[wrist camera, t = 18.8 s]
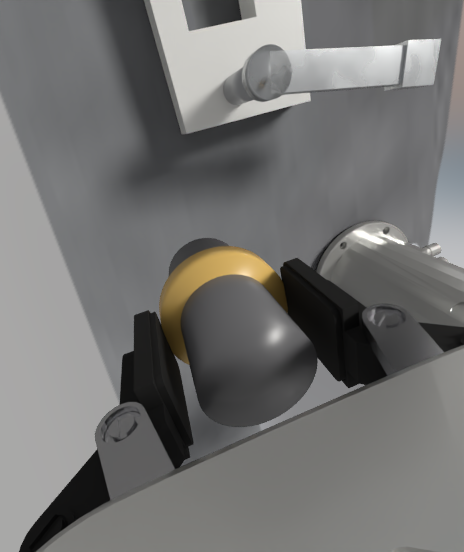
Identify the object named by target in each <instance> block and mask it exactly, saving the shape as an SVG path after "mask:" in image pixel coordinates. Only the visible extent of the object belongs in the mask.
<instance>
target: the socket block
mask: <svg viewBox="0 0 464 552" xmlns="http://www.w3.org/2000/svg"><path fill="white" fill-rule="evenodd" d="M238 1H239V6H240V12H241V18H242V20H239V21H235V22H230V23H225V24H221V25H216V26H212V27H207V28H202V29H198V30H193V31H189V30H188V26H187V22H186V18H185V14H184V9H183V5H182V1H181V0H144V3H145V7H146V10H147V14H148V17H149V21H150V24H151V28H152V31H153V35H154V38H155V42H156V46H157V49H158V53H159V56H160V60H161V63H162V67H163V70H164V74H165V77H166V81H167V84H168V88H169V91H170V95H171V99H172V102H173V106H174V109H175V113H176V116H177V120H178V123H179V127H180V130H181V134H189V133H192V132H196V131H200V130H203V129H207V128H211V127H215V126H218V125H222V124H226V123H229V122H233V121H237V120H241V119H244V118H248V117H252V116H255V115H259V114H263V113H267V112H270V111H274V110H278V109H281V108H285V107H289V106H293V105H296V104H300V103H304V102H307V101H311V100H310V93H299V94H286V95H281V96H280V97H278V98H276V99H273V100H270V101H266V102H259V101H256V100H254V99H252V98H251V97H250V96H249V95H248V94H247V92H246V91H245V89H244V86H243V82H242V70H243V66H244V63H245V61H246V60H247V58H248V57H249V56H250V55H251V54H252V53H253V52H255V51H256V50H257V49H259V48H260V47H262V46H264V45H268V44H273V45H277V46H279V47H281V48H282V49H283V50H305V49H306V48H305V37H304V27H303V17H302V6H301V0H238Z"/></svg>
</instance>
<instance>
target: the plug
mask: <svg viewBox="0 0 464 552" xmlns="http://www.w3.org/2000/svg"><path fill="white" fill-rule="evenodd" d="M159 312H160V318H161V325H162V329H163V332H164V334H165V336H166V338H167V341H168V343H169V345H170V348H171V350H172V352H173V354H174V355H175V356H176V357H177V358H179V359H180V360H182V361H183V362H185V363H187V364H189V365H190V369H191V373H192V377H193V381H194V385H195V389H196V393H197V398H198V401H199V404H200V407H201V408H202V410H203V411H204V413H205V414H206V415H207V416H208V417H209V418H210V419H212V420H214V421H215V422H217V423H220V424H222V425H226V426H232V427H247V426H253V425H258V424H261V423H264V422H267V421H269V420H272V419H274V418H276V417H278V416H280V415H281V414H283V413H284V412H286V411H287V410H289V409H290V408H291V407H292V406H294V405H295V404H296V403H297V402H298V401H299V400H300V399H301V398H302V397H303V396H304V394H305V393H306V392H307V390H308V388H309V387H310V385H311V383H312V382H313V379H314V377H315V374H316V369H317V354H316V350H315V348H314V345H313V344H312V342H311V341H310V339H309V338H308V337H307V336H306V335H305V334H304V332H303V331H302V330H301V329H300V328H299V327H298V325H297V324H296V323H295V322H294V321H293V319H292V318H291V317H290V316H289V315H288V314H287V312H288V307H287V301H286V295H285V289H284V283H283V282H282V280H281V278H280V277H279V276H278V274H277V273H276V272H275V271H274V270H273V269H272V268H271V267H270V266H269V265H268V264H267V263H266V262H265V261H264V260H263V259H261V258H260V257H259V256H258V255H256V254H254V253H253V252H251V251H248V250H246V249H243V248H239V247H233V246H229V245H228V244H226V243H224V242H223V241H220V240H217V239H212V238H202V239H197V240H194V241H191V242H189V243H187V244H186V245H184V246H183V247H182V248H181V249H180V250H178V252H177V253H176V254H175V256H174V257H173V259H172V261H171V264H170V267H169V277H168V279H167V281H166V282H165V285H164V287H163V289H162V292H161V296H160V302H159Z"/></svg>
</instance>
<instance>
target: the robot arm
mask: <svg viewBox="0 0 464 552" xmlns="http://www.w3.org/2000/svg"><path fill="white" fill-rule="evenodd" d="M439 253H441V247H440V246H439V245H438V244H437V243H433V244H431V245H428V246H425V247H423V248H419V247H417V246H414V245H412V244H409V243H408V240H407V238H406V237H405V235H404V233H403V232H402V231H401V230H400V229H398V228H397V227H395V226H393V225H391V224H389V223H385V222H382V221H367V222H362V223H359V224H356V225H354V226H352V227H350V228H349V229H347V230H345V231H344V232H343V233H341V234H340V235H339V236H338V237H336V239H335V240H334V241H333V242H332V243H331V244H330V245H329V246H328V248H327V249H326V251H325V252H324V254H323V255H322V258H321V260H320V262H319V264H318V267H317V270H316V271H314V270H313V269H312V268H310V267H309V266H308V265H306V264H305V263H303V262H302V261H301V260H299V259H298V258H295V259H293V260H290V261H287V262H284V264H283V267H281V268H280V271H281V277H282V282H283V283H284V289H285V295H286V301H287V307H288V315H289V316H290V317H291V318H292V319H293V321H294V322H295V323H296V324H297V325H298V327H299V328H300V329H301V330H302V331H303V332H304V334H305V335H306V336H307V337H308V338H309V339H310V341H311V342H312V344H313V345H314V348H315V350H316V354H317V357H318V359H319V360H320V361H321V362H322V363H323V365H324V366H325V367H326V368H327V369H328V371H329V372H330V373H331V374H332V375H333V377H334V378H335V379H336V380H337V381H341V380H342V381H343V382H344V384H345V385H346V386H347V387H348V388H350V387H353V386H355V385H357V384H364V385H365V386H363V387H361V388H359V389H356V390H354V391H352V392H349V393H347V394H345V395H343V396H340V397H338V398H336V399H333V400H331V401H329V402H326V403H324V404H322V405H320V406H317V407H315V408H313V409H311V410H308V411H306V412H304V413H301V414H299V415H297V416H295V417H293V418H290V419H288V420H285V421H283V422H281V423H278V424H276V425H274V426H272V427H269V428H267V429H265V430H263V431H260V432H258V433H256V434H254V435H251V436H249V437H247V438H245V439H242V440H240V441H238V442H236V443H233V444H231V445H229V446H227V447H224V448H222V449H220V450H218V451H215V452H213V453H211V454H209V455H206V456H204V457H202V458H200V459H197V460H195V461H193V462H191V463H188V464H186V465H184V466H182V467H180V466H181V464H182V463H183V461H184V460H185V459H188V458H190V454H189V448H188V446H190V445H193V438H192V432H191V427H190V422H189V417H188V411H187V406H186V401H185V396H184V390H183V385H182V380H181V375H180V370H179V366H178V363H177V361H176V359H175V356H174V354H173V352H172V350H171V348H170V345H169V343H168V341H167V338H166V336H165V334H164V332H163V329H162V326H161V324H160V321H159V319H158V317H157V314H156V312H153V313H150V311H149V310H148V311H145V312H142V313H139V314H137V315H134V351H132V352H130V353H127V354H124V355H123V358H122V375H121V392H120V405H119V406H117V407H115V408H114V409H112V410H111V411H109V412H108V413H107V414H106V415H105V416H104V417H103V418H102V420H101V422H100V423H99V425H98V426H97V429H96V433H95V441H96V444H97V450H96V451H95V453H94V454H93V455H92V456H91V458H90V459H89V460H88V461H87V462H86V463H85V464H84V466H83V467H82V468H81V469H80V470H79V472H78V473H77V474H76V475H75V476H74V477H73V479H72V480H71V481H70V482H69V483H68V484H67V486H66V487H65V488H64V489H63V490H62V492H61V493H60V494H59V495H58V496H57V497H56V499H55V500H54V501H53V502H52V503H51V505H50V506H49V507H48V508H47V509H46V510H45V512H44V513H43V514H42V515H41V516H40V518H39V519H38V520H37V521H36V522H35V524H34V525H33V526H32V528H31V529H30V530H29V532H28V533H27V535H26V537H25V539H24V541H23V543H22V545H21V547H20V551H19V552H464V269H463V268H461V267H458V266H456V265H453V264H451V263H449V262H448V261H447V259H445V258H444V257H439V258H436V257H433V256H435V255H437V254H439Z"/></svg>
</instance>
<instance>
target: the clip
mask: <svg viewBox="0 0 464 552" xmlns="http://www.w3.org/2000/svg"><path fill="white" fill-rule="evenodd" d="M440 43H441V39H425V40H408V41H405V42H402V43H399V44H397V45H394V46H375V47H351V48H328V49H305V50H283V49H282V48H281V47H279V46H277V45H273V44H268V45H264V46H262V47H260V48H259V49H257V50H256V51H255V52H253V53H252V54H251V55H250V56H249V57H248V58H247V60H246V61H245V63H244V66H243V70H242V82H243V86H244V89H245V91H246V92H247V94H248V95H249V96H250V97H251V98H252V99H254V100H256V101H259V102H266V101H270V100H273V99H276V98H278V97H280V96H281V95H286V94H299V93H312V92H325V91H338V90H351V89H364V88H377V87H385V88H384V91H386V90H399V89H411V88H418V87H424V86H429V85H433V84H434V79H435V73H436V67H437V61H438V55H439V49H440Z"/></svg>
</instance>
